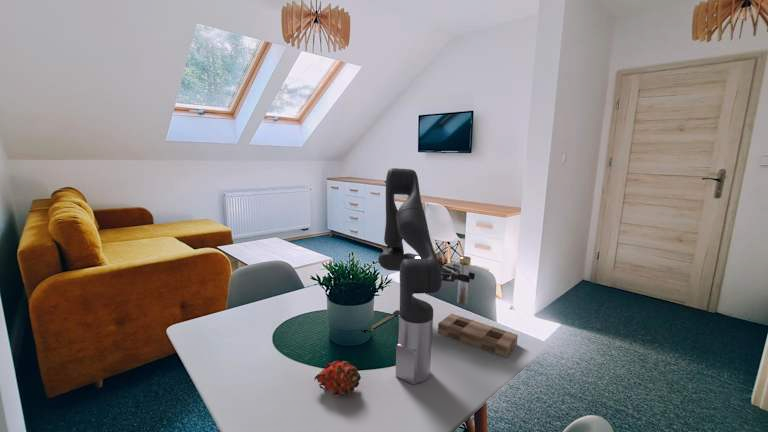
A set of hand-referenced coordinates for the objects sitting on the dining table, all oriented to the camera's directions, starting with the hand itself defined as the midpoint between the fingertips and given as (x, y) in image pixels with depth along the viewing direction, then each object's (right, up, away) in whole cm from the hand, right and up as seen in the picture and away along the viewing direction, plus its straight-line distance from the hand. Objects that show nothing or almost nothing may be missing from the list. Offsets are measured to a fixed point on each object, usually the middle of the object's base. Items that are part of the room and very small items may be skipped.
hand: (471, 278), depth 117 cm
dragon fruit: (-41, -25, -27) cm, 55 cm away
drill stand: (+2, -21, +2) cm, 21 cm away
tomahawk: (-29, -19, +11) cm, 36 cm away
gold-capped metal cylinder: (-3, -9, +3) cm, 10 cm away
